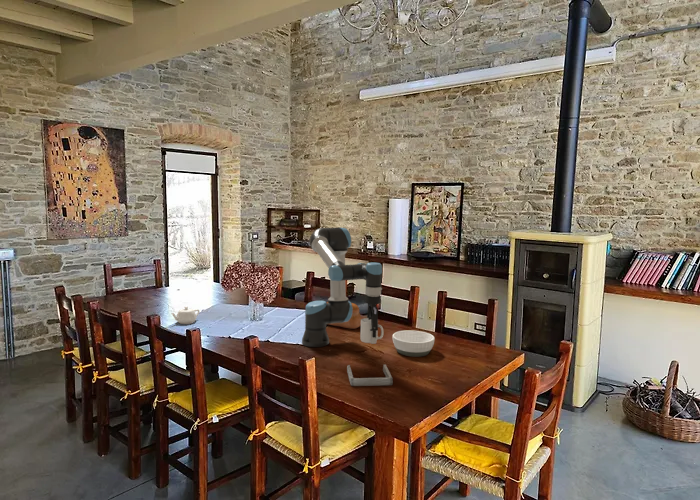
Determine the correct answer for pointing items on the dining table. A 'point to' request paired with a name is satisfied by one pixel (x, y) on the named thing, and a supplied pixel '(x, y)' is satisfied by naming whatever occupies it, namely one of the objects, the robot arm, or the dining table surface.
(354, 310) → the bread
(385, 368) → the bracket
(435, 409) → the dining table surface
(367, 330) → the cup
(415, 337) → the bowl
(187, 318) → the teapot
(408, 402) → the dining table surface
